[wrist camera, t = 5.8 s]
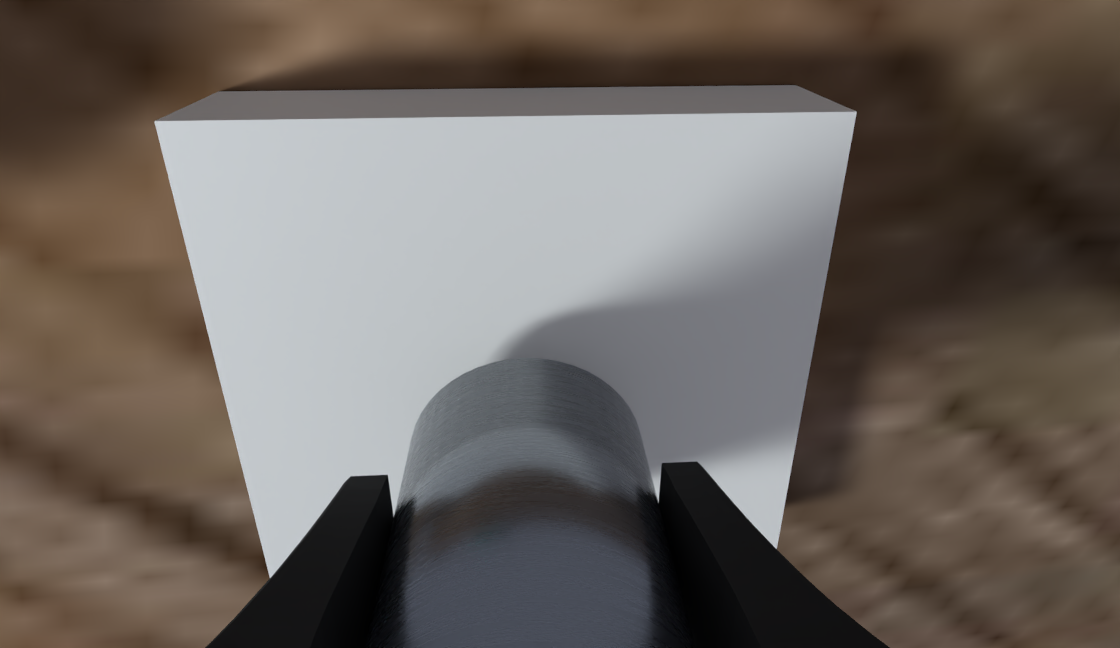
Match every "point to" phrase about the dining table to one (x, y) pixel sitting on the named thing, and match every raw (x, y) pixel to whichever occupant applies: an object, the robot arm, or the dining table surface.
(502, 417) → the grey cylinder
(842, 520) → the dining table surface
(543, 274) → the base block
